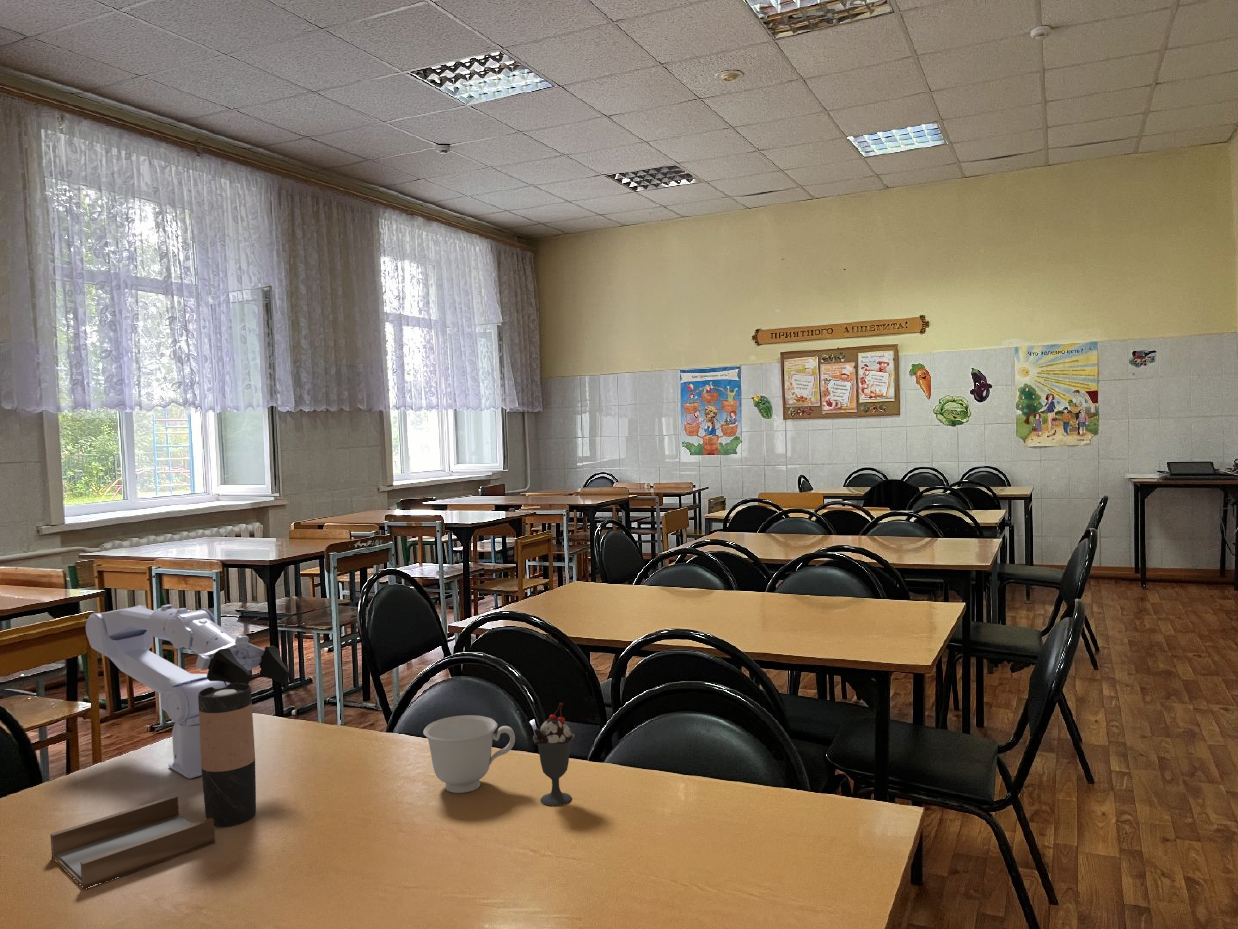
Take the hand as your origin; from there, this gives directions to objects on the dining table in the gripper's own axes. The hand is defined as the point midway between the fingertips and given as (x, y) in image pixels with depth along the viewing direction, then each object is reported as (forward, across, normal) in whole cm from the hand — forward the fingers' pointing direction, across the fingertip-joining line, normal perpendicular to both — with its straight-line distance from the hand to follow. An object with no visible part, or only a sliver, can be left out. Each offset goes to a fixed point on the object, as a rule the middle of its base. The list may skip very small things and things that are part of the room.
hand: (267, 679), depth 149 cm
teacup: (+32, +19, +7) cm, 38 cm away
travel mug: (+8, -6, +19) cm, 22 cm away
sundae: (+47, +21, +2) cm, 52 cm away
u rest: (+6, -20, +22) cm, 30 cm away
